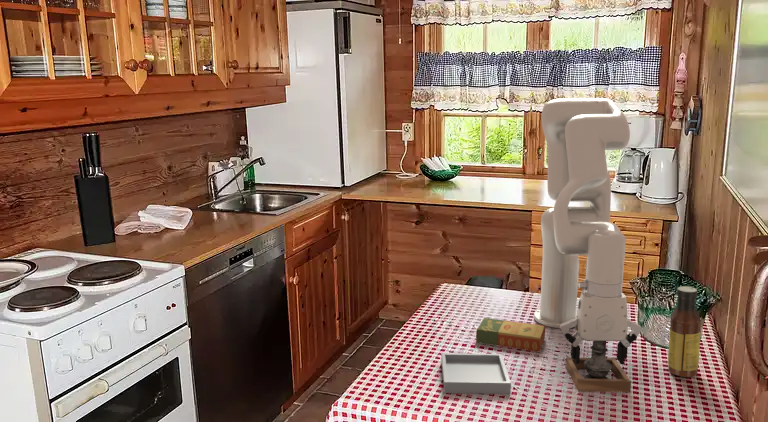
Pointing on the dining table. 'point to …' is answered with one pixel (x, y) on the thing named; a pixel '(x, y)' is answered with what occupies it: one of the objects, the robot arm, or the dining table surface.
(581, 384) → the wooden square frame
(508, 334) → the carton
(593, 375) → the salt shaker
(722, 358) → the dining table surface
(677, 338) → the sauce bottle
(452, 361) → the tray
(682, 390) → the dining table surface
